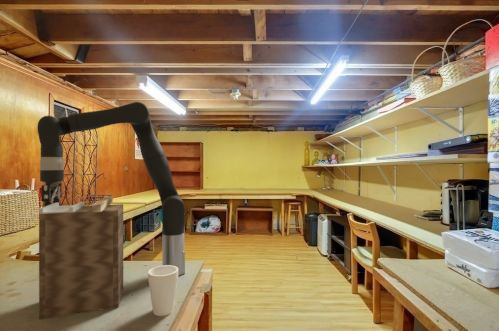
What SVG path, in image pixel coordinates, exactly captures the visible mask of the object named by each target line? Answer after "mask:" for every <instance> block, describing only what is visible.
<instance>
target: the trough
mask: <svg viewBox="0 0 499 331" xmlns="http://www.w3.org/2000/svg"><path fill="white" fill-rule="evenodd" d="M83 206H85V201H80V202H78V203H77V202H76V204H71V205H60V206H59V202H58V203H53V202H52V204H50V205H48V206H45V207H44V206H42V207H40V208H38V215H39V214H49V213H70V212H74V211H76V210H78V209H80V208H82V207H83Z"/></svg>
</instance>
